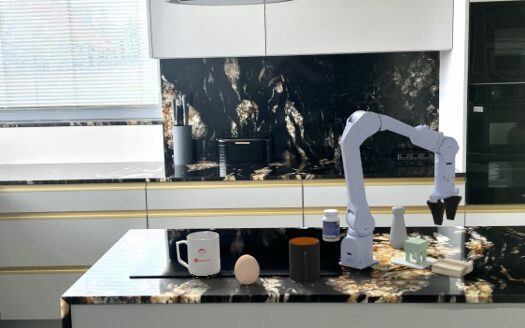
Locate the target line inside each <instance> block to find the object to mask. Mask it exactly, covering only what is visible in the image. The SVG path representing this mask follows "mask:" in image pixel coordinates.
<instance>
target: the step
mask: <svg viewBox="0 0 525 328" xmlns="http://www.w3.org/2000/svg"><path fill="white" fill-rule="evenodd" d="M473 268H474V264H473V262H469V261H468V262H467V261H463V260H457V259H453V258H447V257H444V258H443V259H441V260H439V261H438V262H436V263H434V264H432V265H431V273H434V274H439V275H445V276H448V277H453V278H458V279H459V278H462V277H464V276H465V275H467V274H469V273H471V272H472V271H473Z"/></svg>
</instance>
